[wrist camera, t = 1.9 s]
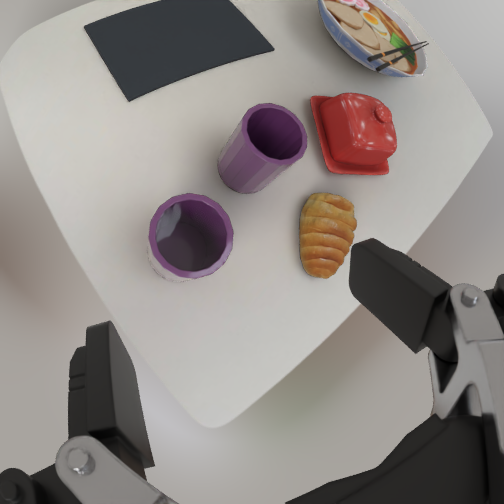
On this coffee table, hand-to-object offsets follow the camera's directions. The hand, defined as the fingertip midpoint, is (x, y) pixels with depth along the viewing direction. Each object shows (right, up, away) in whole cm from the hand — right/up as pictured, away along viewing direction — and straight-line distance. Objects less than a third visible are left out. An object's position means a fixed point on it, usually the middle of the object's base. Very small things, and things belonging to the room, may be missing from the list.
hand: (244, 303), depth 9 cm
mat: (-9, +31, +24) cm, 40 cm away
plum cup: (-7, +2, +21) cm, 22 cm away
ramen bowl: (+19, +38, +35) cm, 55 cm away
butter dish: (+13, +17, +30) cm, 37 cm away
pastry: (+8, +4, +27) cm, 28 cm away
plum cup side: (0, +11, +24) cm, 27 cm away
